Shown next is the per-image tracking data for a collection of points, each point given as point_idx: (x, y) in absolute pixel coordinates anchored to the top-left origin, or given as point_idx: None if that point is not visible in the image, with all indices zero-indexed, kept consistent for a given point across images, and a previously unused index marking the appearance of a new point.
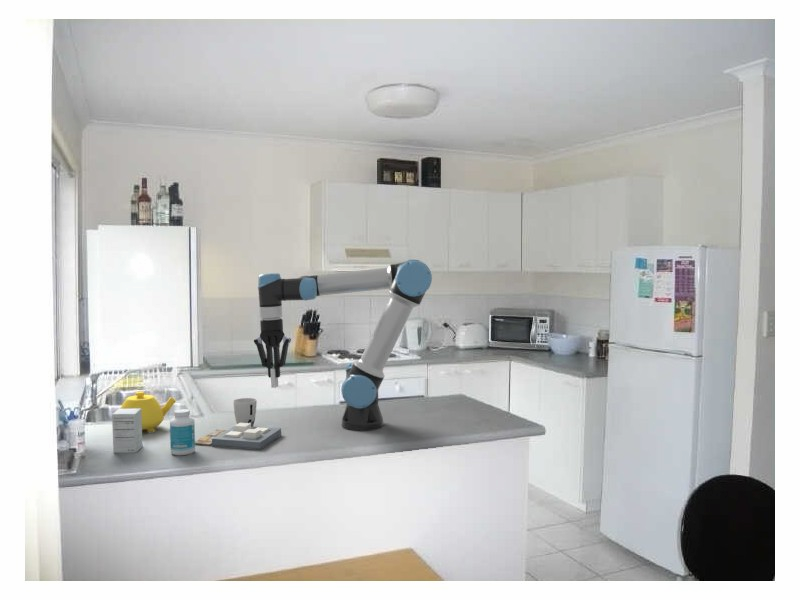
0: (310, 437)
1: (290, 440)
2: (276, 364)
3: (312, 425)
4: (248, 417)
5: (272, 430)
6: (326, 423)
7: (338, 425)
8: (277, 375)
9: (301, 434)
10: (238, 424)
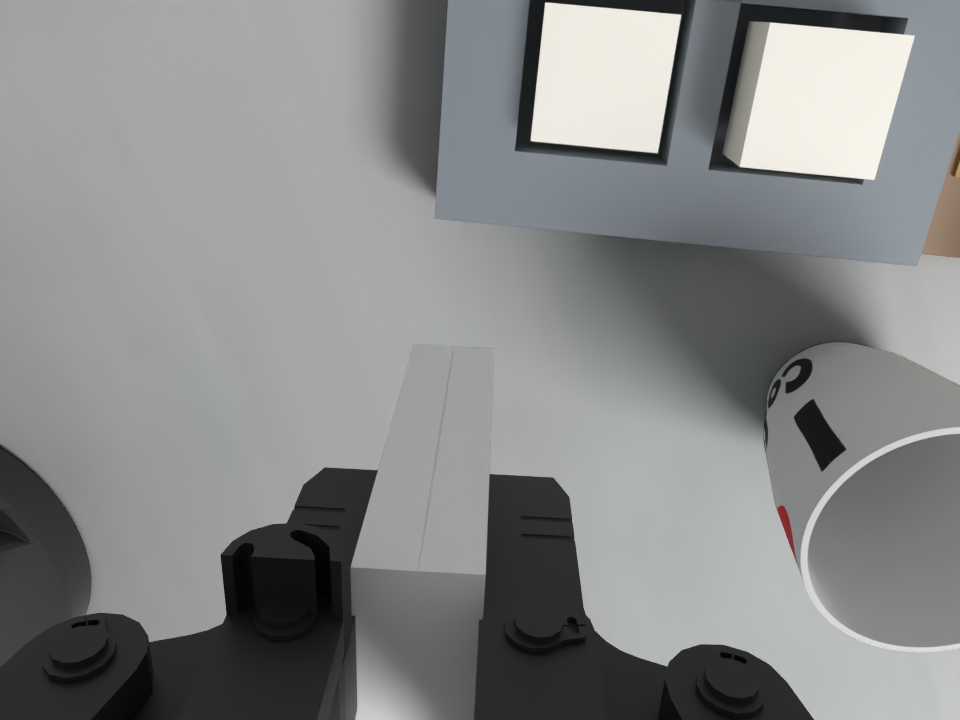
0: (171, 184)
1: (304, 60)
2: (243, 676)
3: None
4: (821, 382)
5: (493, 134)
6: (216, 574)
7: (108, 534)
8: (332, 493)
9: (283, 264)
10: (873, 97)
